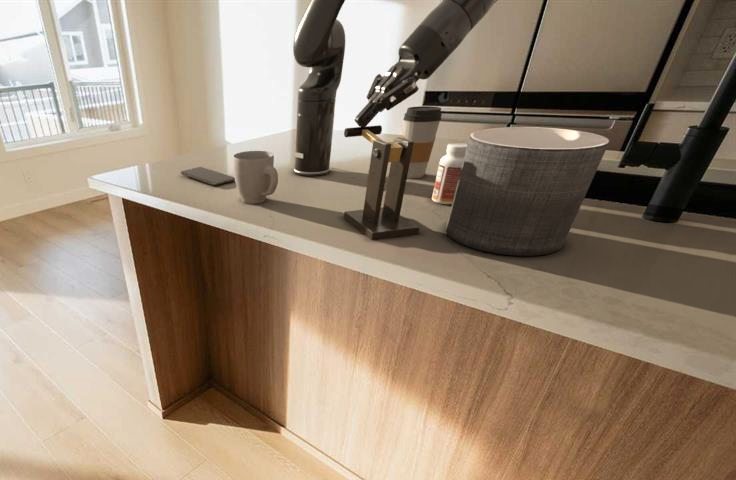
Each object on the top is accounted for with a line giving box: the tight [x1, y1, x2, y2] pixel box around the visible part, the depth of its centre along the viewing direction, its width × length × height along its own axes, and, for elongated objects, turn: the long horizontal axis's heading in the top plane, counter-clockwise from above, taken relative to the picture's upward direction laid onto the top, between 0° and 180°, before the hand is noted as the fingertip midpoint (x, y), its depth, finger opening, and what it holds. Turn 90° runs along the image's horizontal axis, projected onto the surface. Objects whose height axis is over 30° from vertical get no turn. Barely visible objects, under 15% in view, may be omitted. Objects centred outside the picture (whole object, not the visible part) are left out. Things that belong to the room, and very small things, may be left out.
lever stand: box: [343, 136, 421, 241], centre depth 76 cm, size 12×9×15 cm
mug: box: [232, 150, 279, 205], centre depth 93 cm, size 12×9×10 cm
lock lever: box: [343, 124, 403, 163], centre depth 76 cm, size 14×7×2 cm, turn 11°
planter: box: [445, 126, 610, 257], centre depth 69 cm, size 18×18×16 cm
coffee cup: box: [401, 105, 443, 179], centre depth 103 cm, size 8×8×15 cm
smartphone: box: [180, 166, 235, 186], centre depth 114 cm, size 7×1×16 cm
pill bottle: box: [431, 142, 468, 206], centre depth 87 cm, size 6×6×11 cm
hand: (358, 123), depth 80 cm, fingers closed
